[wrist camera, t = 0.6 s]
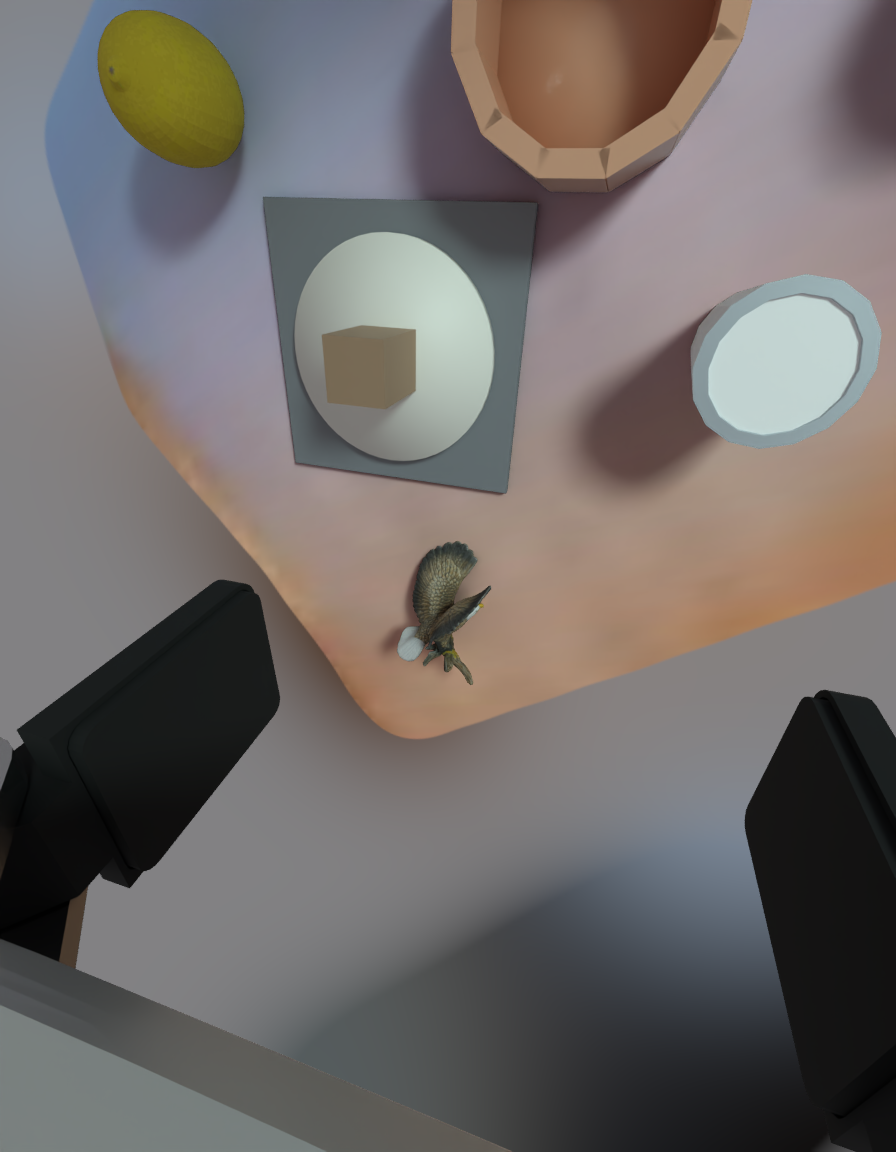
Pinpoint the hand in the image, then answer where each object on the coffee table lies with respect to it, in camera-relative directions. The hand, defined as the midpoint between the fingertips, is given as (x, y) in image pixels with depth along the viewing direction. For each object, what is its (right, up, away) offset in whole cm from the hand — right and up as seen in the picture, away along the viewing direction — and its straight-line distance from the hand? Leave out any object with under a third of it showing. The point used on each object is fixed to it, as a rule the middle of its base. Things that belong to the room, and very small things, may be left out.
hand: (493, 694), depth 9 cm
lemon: (-13, +28, +20) cm, 37 cm away
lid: (-4, +16, +23) cm, 28 cm away
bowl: (+6, +26, +14) cm, 30 cm away
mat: (-4, +16, +23) cm, 29 cm away
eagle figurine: (0, +1, +32) cm, 32 cm away
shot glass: (+15, +14, +18) cm, 28 cm away
